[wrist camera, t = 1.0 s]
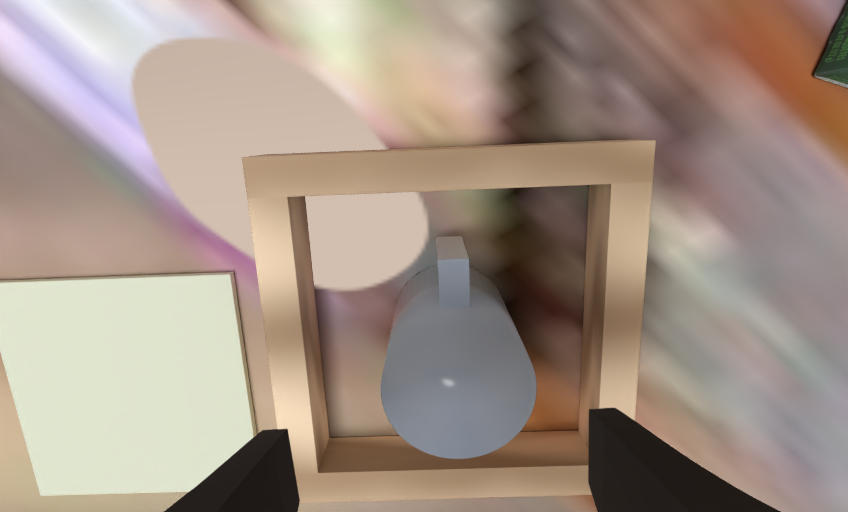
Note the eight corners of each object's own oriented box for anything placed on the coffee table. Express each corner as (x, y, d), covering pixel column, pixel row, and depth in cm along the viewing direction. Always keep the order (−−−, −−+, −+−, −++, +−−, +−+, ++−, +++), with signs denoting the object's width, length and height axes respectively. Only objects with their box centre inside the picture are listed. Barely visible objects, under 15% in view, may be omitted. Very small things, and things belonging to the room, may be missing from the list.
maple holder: (608, 456, 23) (629, 493, 21) (301, 465, 24) (287, 503, 21) (627, 139, 20) (655, 140, 17) (264, 154, 20) (242, 157, 18)
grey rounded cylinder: (505, 365, 22) (535, 456, 16) (397, 369, 22) (385, 460, 16) (505, 225, 21) (538, 265, 14) (389, 230, 21) (372, 271, 14)
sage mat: (263, 483, 24) (261, 489, 24) (46, 490, 24) (40, 495, 24) (233, 271, 21) (229, 274, 21) (-11, 280, 21) (-19, 283, 21)
